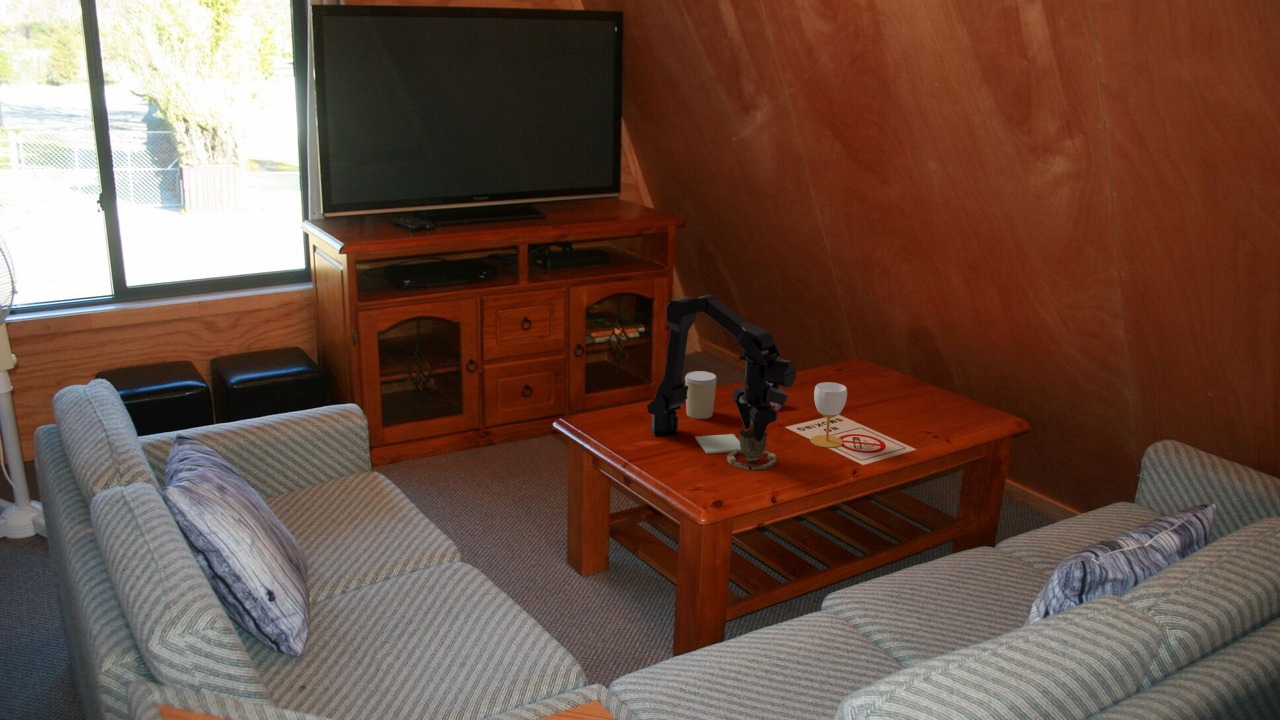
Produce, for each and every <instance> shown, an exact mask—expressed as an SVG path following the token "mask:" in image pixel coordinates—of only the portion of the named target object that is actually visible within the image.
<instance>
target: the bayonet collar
mask: <svg viewBox="0 0 1280 720" xmlns="http://www.w3.org/2000/svg"><path fill="white" fill-rule="evenodd" d="M739 454H743V453H742V451H741V449H737V450H734V451H732V452H728V454H727V455H726V460H727V462H728V463H729V464H730V465H731V466H733V467H735V468H740V469H742V470H743V469H744V470H747V471H750V470H751V471H758V470H759V471H760V470H768V469H771V468H772V467H773V466H775V465H776V464H777V463H778V459H777V455H776V454H775V453H774V452H770V451H768V450H764V452H763V453H762V454H761V455H760V456H764V457H765V456H766V458H767V459H768V460H769V461H768V462H767V463H765V464H757V465H756V464H754V465H753V464H752V465H750V464H745V463H742V462H738V461H737V459H736V457H735V456H737V455H739Z"/></svg>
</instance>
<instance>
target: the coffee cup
mask: <svg viewBox="0 0 1280 720" xmlns="http://www.w3.org/2000/svg"><path fill="white" fill-rule="evenodd" d="M684 380H685V383H684V385H686V386H688V391H687V399H685V407H686V408H685V411H686V416H687V417H689V418H691V419H699V420H700V419H701V420H705V419H709V418H711V417H712V416H713V412H714V404H715V399H716V398H715V396H716V388H717V387H716V386H717V380H718V377H717V375H716V374H715V373H712V372H710V371H709V372H708V371H705V370H704V371H703V370H702V371H700V370H699V371H690V372H688V373H686V375H685V377H684Z"/></svg>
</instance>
